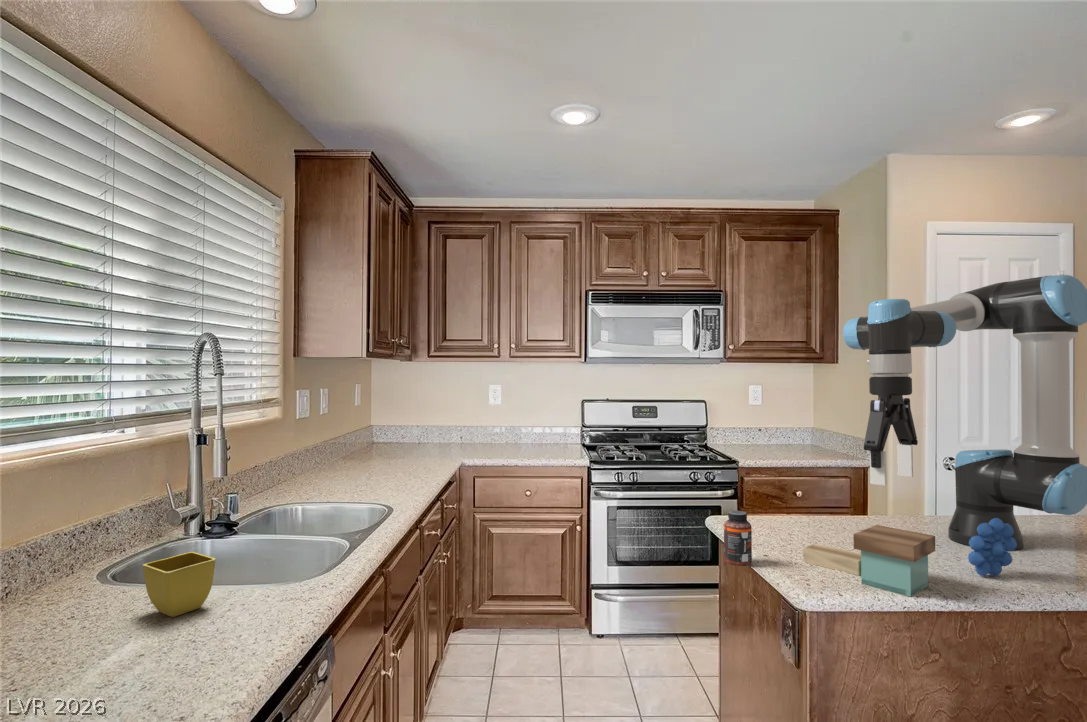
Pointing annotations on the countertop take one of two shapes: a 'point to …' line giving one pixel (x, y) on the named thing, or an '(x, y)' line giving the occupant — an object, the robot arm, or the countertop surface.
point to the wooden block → (833, 558)
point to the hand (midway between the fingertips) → (892, 480)
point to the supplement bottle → (737, 539)
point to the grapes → (992, 547)
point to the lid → (894, 543)
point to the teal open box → (894, 573)
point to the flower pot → (179, 582)
